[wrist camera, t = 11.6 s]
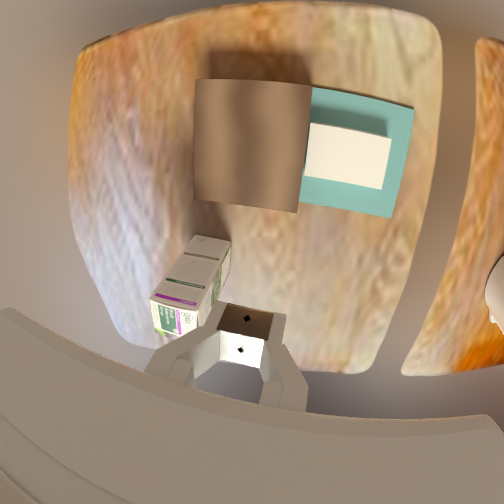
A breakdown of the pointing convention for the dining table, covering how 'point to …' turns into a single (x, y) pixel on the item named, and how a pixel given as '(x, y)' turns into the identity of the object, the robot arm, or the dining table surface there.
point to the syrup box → (191, 286)
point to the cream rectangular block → (347, 155)
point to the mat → (370, 120)
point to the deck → (250, 142)
